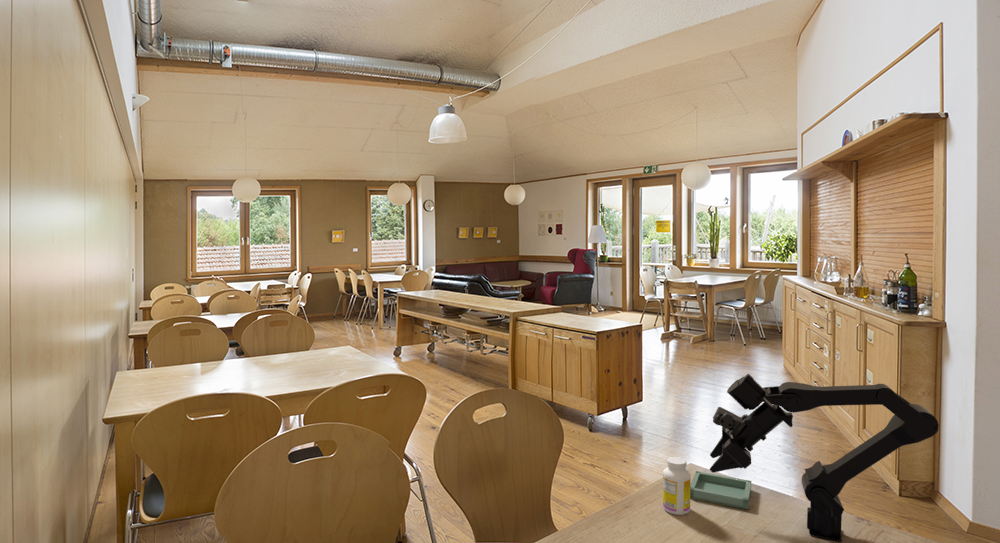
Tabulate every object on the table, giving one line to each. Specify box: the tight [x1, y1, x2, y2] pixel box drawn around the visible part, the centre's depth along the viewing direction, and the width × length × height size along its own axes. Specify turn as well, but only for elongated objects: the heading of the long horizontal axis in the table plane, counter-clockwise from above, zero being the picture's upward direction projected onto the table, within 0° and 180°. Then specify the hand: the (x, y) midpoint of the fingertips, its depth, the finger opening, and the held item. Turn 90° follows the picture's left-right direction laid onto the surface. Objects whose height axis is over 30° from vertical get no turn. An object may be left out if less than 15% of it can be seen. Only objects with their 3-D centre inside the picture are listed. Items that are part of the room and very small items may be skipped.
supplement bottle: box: [662, 456, 692, 516], centre depth 145 cm, size 7×7×13 cm
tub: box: [690, 470, 752, 511], centre depth 153 cm, size 14×12×2 cm
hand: (711, 463), depth 142 cm, fingers open, 9 cm apart
